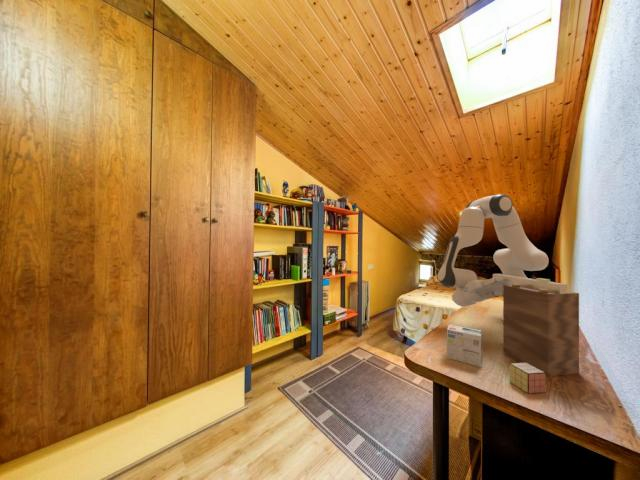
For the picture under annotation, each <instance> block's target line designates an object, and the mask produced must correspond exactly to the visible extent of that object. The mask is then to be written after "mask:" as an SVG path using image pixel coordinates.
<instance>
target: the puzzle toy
mask: <svg viewBox="0 0 640 480" xmlns="http://www.w3.org/2000/svg"><path fill="white" fill-rule="evenodd" d="M509 383H511V384H513V385H514V386H515V387H518V388H519V389H521V390H522V391H524V392H525V393H526V394H538V393H540V394H541V393H546V375H545V373H544V372H543V371H541V370H539V369H537V368H535V367H533V366H531V365H530V364H528V363H521V362H517V363H516V362H515V363H514V362H512V363H510V364H509Z"/></svg>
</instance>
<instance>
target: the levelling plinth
mask: <svg viewBox="0 0 640 480" xmlns="http://www.w3.org/2000/svg"><path fill="white" fill-rule="evenodd" d="M502 295H503V297H502V298H503V299H502V300H503V305H502V306H503V307H502V314H503V320H502V322H503V325H502V327H503V331H502V332H503V333H502V335H503V338H502V339H503V342H502V343H503V345H502V346H503V347H502V348H503V349H502V351H503V352H502V353H503V354H504V355H505V356H508V357H509V358H511V359H513V360H515V361H517V362H518V363H528V364H530V365H531V366H533V367H535V368H537V369H539V370H541V371H543V372H544V373H545V377H557V376H566V375H576V374H577V375H578V374H580V293H579V292H574V291H570V290H567V294H558V293H553V292H548V290H547V289H539V290H537V289H532V288H527V287H521V286H520V284H512V285H503V294H502Z"/></svg>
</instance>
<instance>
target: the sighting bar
mask: <svg viewBox="0 0 640 480" xmlns="http://www.w3.org/2000/svg"><path fill="white" fill-rule="evenodd" d="M492 278H496V280H497V282H501V283H506V284H511V285H512V284H520V286H521V287H527V288H532V289H537V290H539V289H547V290H548V292H553V293H558V294H567V291H568V284H567V283H562V282H554V281H551V279H550V278H542V277H536V278H535V279H534V278H530V277H529V278H528V277H527V278H523V277H517V276H510V275H504V274H503V273H492Z"/></svg>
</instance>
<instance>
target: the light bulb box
mask: <svg viewBox="0 0 640 480" xmlns="http://www.w3.org/2000/svg"><path fill="white" fill-rule="evenodd" d="M482 332H483V331H482V330H481V329H475V328H471V327H470V328H469V327H465V326H460V325H455V324H448V326H447V328H446V358H447V359H450V360H454V361H458V362H461V363H465V364H469V365H472V366H476V367H480V368H481V367H482V364H483V334H482Z"/></svg>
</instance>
